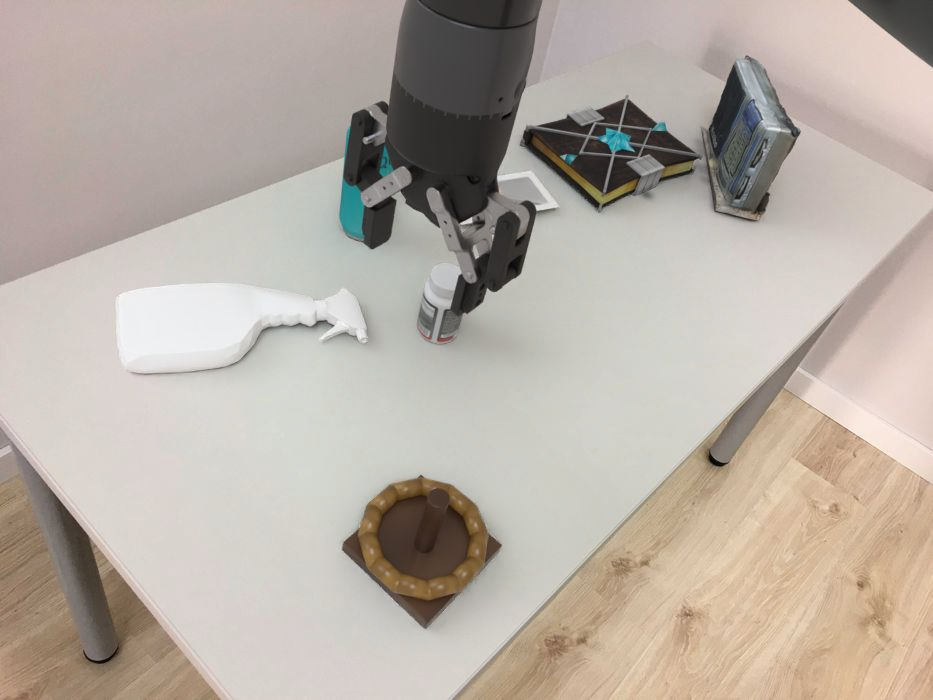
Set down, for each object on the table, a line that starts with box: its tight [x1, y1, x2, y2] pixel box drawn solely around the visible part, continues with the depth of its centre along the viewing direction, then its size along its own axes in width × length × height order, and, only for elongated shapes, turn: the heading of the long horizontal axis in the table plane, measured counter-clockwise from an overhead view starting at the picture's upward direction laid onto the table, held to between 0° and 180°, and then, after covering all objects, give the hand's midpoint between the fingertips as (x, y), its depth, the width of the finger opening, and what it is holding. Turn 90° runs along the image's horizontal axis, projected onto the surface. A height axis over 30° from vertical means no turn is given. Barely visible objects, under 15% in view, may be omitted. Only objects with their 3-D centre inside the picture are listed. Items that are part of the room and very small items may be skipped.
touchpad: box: [459, 170, 560, 226], centre depth 104 cm, size 8×15×2 cm, turn 117°
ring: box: [358, 476, 490, 600], centre depth 69 cm, size 11×11×2 cm
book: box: [519, 94, 704, 213], centre depth 115 cm, size 22×17×5 cm
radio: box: [700, 54, 802, 221], centre depth 115 cm, size 23×9×15 cm, turn 168°
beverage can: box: [338, 120, 393, 242], centre depth 91 cm, size 6×6×15 cm
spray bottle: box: [114, 282, 369, 374], centre depth 82 cm, size 3×11×24 cm
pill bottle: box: [416, 262, 464, 345], centre depth 85 cm, size 5×5×8 cm
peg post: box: [341, 474, 503, 630], centre depth 67 cm, size 10×10×10 cm
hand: (419, 275), depth 57 cm, fingers open, 8 cm apart
